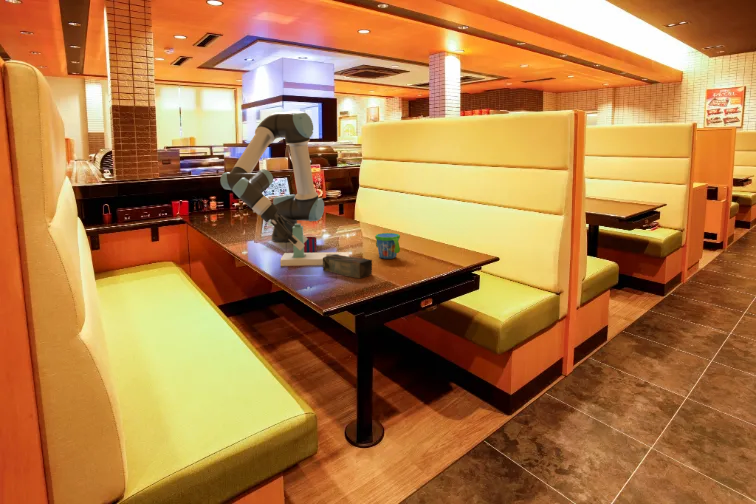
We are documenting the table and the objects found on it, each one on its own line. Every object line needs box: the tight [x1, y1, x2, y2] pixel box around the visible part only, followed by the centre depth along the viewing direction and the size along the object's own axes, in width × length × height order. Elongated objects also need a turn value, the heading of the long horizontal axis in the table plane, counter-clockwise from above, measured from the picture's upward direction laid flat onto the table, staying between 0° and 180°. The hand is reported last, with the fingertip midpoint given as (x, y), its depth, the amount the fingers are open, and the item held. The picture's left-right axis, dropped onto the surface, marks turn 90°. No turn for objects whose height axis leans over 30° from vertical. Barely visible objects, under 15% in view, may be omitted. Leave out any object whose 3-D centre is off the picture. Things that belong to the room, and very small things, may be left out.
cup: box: [304, 236, 318, 253], centre depth 221 cm, size 7×10×7 cm
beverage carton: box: [322, 254, 373, 279], centre depth 186 cm, size 8×19×7 cm, turn 55°
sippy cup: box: [374, 232, 401, 260], centre depth 210 cm, size 16×10×10 cm
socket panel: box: [280, 251, 350, 268], centre depth 203 cm, size 12×28×3 cm, turn 93°
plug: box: [292, 223, 304, 258], centre depth 201 cm, size 4×4×16 cm
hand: (304, 244), depth 201 cm, fingers open, 13 cm apart
